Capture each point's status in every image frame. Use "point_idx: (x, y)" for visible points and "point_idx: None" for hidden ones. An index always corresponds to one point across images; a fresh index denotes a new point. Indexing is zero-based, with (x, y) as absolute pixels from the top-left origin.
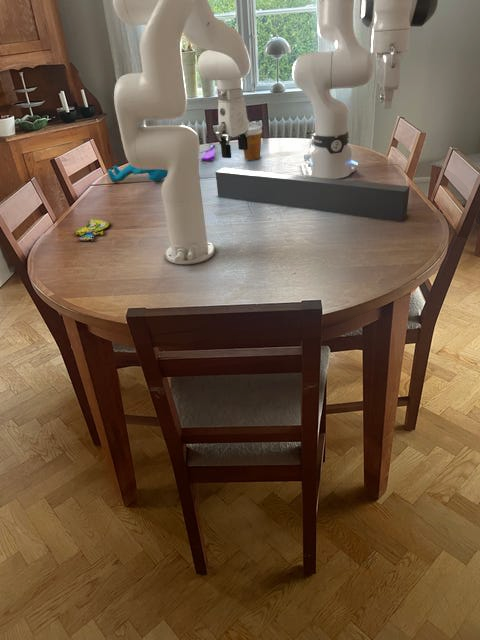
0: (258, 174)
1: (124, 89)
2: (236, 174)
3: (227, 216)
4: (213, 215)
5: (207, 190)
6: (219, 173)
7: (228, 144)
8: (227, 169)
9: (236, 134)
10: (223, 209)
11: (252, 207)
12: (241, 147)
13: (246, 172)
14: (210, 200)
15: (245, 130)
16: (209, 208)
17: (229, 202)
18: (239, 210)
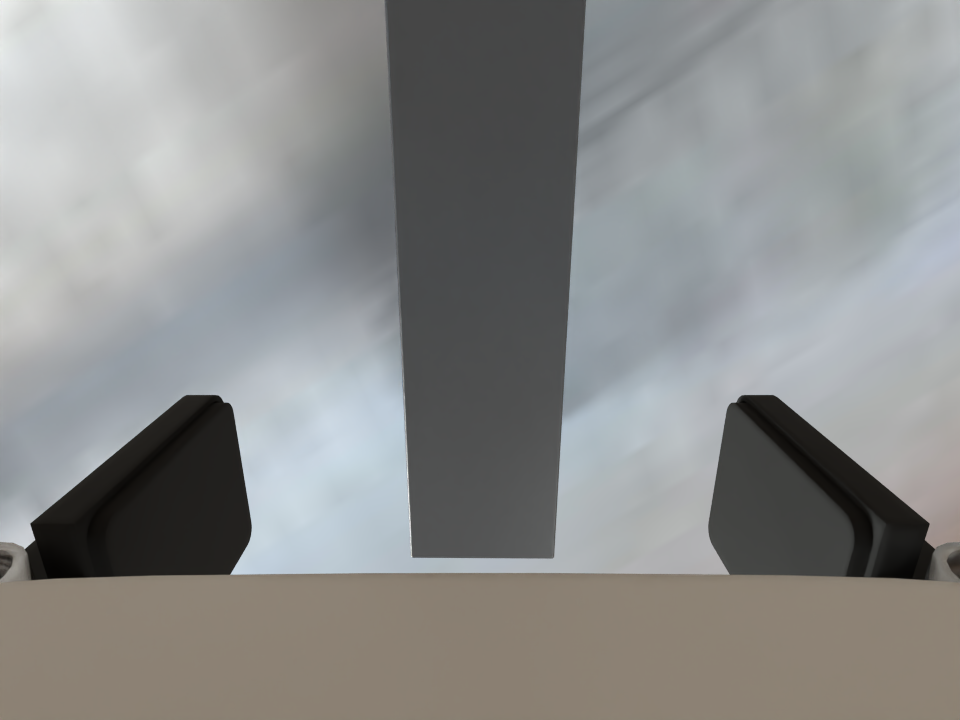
0: (514, 9)
1: None
2: (565, 312)
3: (911, 132)
4: (902, 253)
5: (437, 570)
6: (554, 510)
7: (943, 550)
8: (448, 491)
9: (879, 605)
10: (768, 252)
11: (675, 35)
12: (231, 504)
13: (484, 224)
14: (613, 446)
15: (78, 606)
16: (767, 363)
17: (614, 293)
18: (765, 110)
